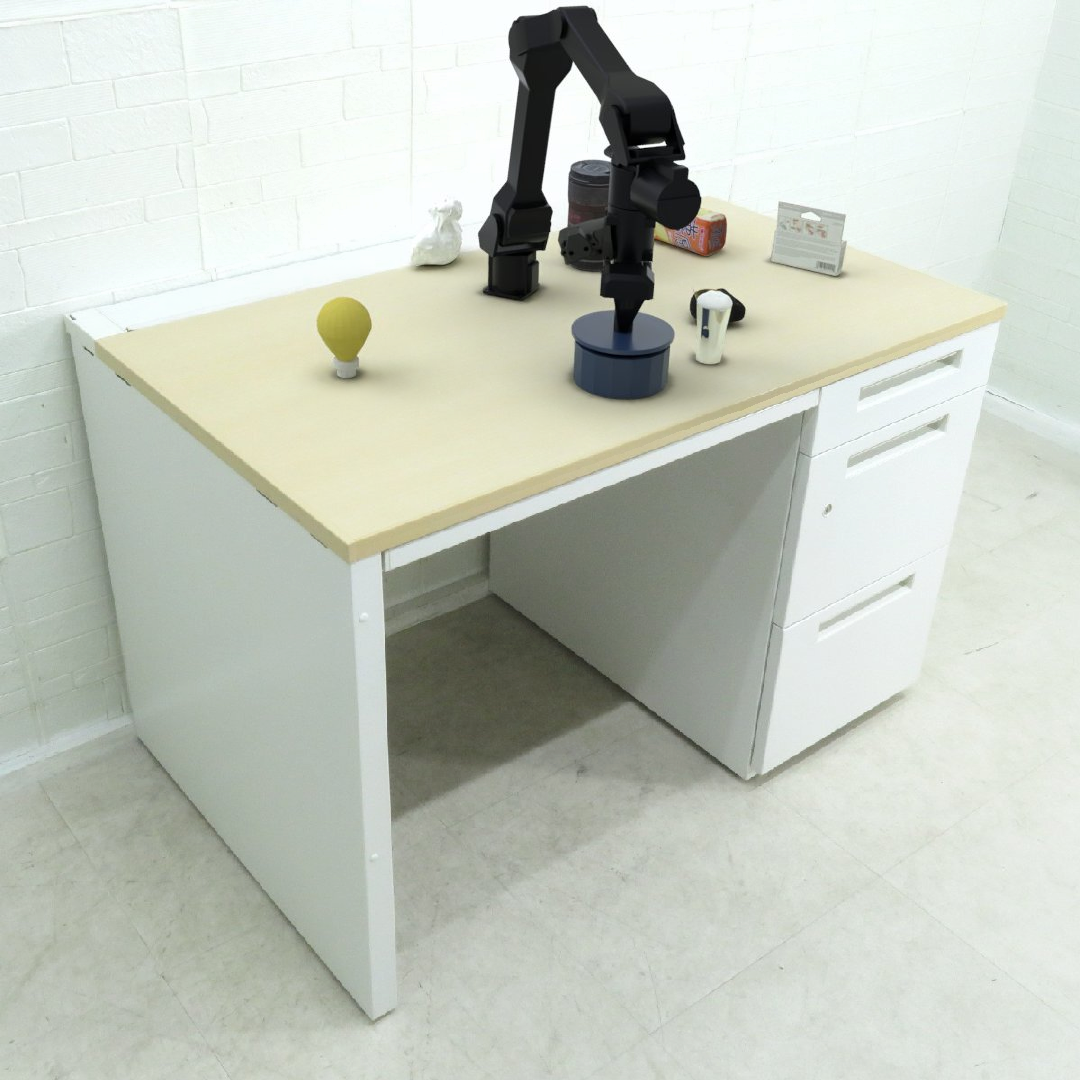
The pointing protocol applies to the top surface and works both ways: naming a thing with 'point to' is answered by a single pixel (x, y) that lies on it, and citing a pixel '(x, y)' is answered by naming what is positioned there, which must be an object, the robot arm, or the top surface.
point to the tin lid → (622, 333)
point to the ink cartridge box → (809, 239)
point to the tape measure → (736, 310)
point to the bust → (439, 234)
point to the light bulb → (344, 332)
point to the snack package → (697, 233)
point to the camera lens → (588, 199)
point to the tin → (620, 373)
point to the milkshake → (711, 325)
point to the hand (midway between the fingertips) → (623, 327)
